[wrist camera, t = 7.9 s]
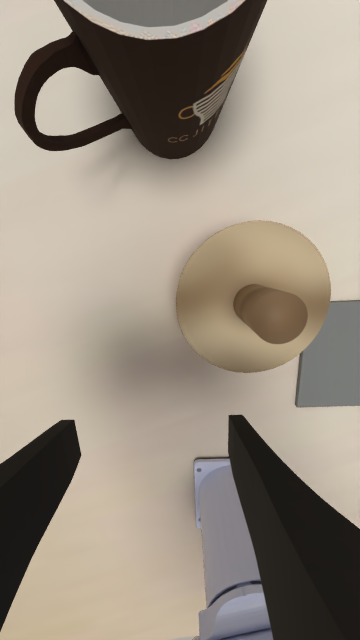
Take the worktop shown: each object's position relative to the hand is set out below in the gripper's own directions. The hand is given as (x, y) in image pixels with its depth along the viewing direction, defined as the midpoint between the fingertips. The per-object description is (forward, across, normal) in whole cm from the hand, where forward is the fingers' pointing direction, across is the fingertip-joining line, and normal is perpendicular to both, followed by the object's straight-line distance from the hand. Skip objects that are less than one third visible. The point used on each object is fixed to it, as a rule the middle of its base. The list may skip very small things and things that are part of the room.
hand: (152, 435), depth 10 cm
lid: (+6, -6, -5) cm, 10 cm away
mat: (+10, -17, +1) cm, 20 cm away
